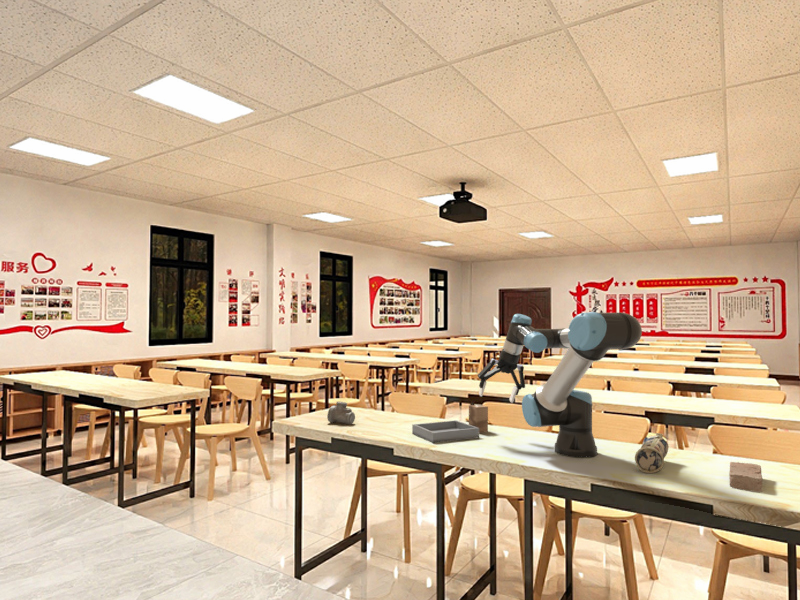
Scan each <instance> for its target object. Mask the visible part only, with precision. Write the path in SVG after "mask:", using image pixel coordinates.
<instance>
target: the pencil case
mask: <svg viewBox="0 0 800 600" xmlns="http://www.w3.org/2000/svg"><path fill="white" fill-rule="evenodd" d="M663 436H664V434H663V433H659V432H655V434H654V435H651V436H645V437H644V439H643V441H642V444H641V447H640V448H638V450H637V451H636V453H635V454H634V462H635V464H636V465H637V466H636V467H637V468H638V469H639V471H641V472H643V473H645V474H651V473H652V474H654V473H657V472H660V471H661V470H662V469H663V467H664V464H665V457H666V456H667V454H668V452H669V444H668V442H667V441H666V439H664V437H663Z"/></svg>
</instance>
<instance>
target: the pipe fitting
mask: <svg viewBox="0 0 800 600" xmlns="http://www.w3.org/2000/svg"><path fill="white" fill-rule="evenodd" d="M335 403H336V405H331V406H330V408H329V409H328V411H327V418H326V419H327V421H328V422H329V423H331V422H332V423H331V424H334V423H333V422H335V423H337V422H338V423H341V424H345V425H348V424H349V426H351V425H352V424H354V422H355V420H356V415H355V413H354V412H353V411H352V408H350V407H349V408H348V407H347V406H348V403H347V402H345V401H339V400H338V401H336V402H335ZM350 424H351V425H350Z"/></svg>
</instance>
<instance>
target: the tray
mask: <svg viewBox="0 0 800 600" xmlns="http://www.w3.org/2000/svg"><path fill="white" fill-rule="evenodd" d="M411 426H412V428H411V429H412V432H411V434H412V435H414V436H416V437H419V438H421V439H423V440H425V441H427V442H430V443H432V444H434V443H435V444H436V443H437V444H438V443H446V442H454V441H465V440H472V439H479V438H480V433H479V428H478V427H475V426H472V425H469V423H465V422H462V421H460V420H445V421H435V422H424V423H414V424H413V423H412V425H411Z"/></svg>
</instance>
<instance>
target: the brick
mask: <svg viewBox="0 0 800 600" xmlns="http://www.w3.org/2000/svg"><path fill="white" fill-rule="evenodd" d="M728 474H729V475H728V476H729V487H732V489H736V488H737V490H743V489H744V490H745V491H750V492H756V493H761V492H762V491H763V476H762V466H761V465H760V464H756V463H750V462H749V463H748V462H747V463H745V462H739V461H737V462H736V461H730V462H729V472H728Z"/></svg>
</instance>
